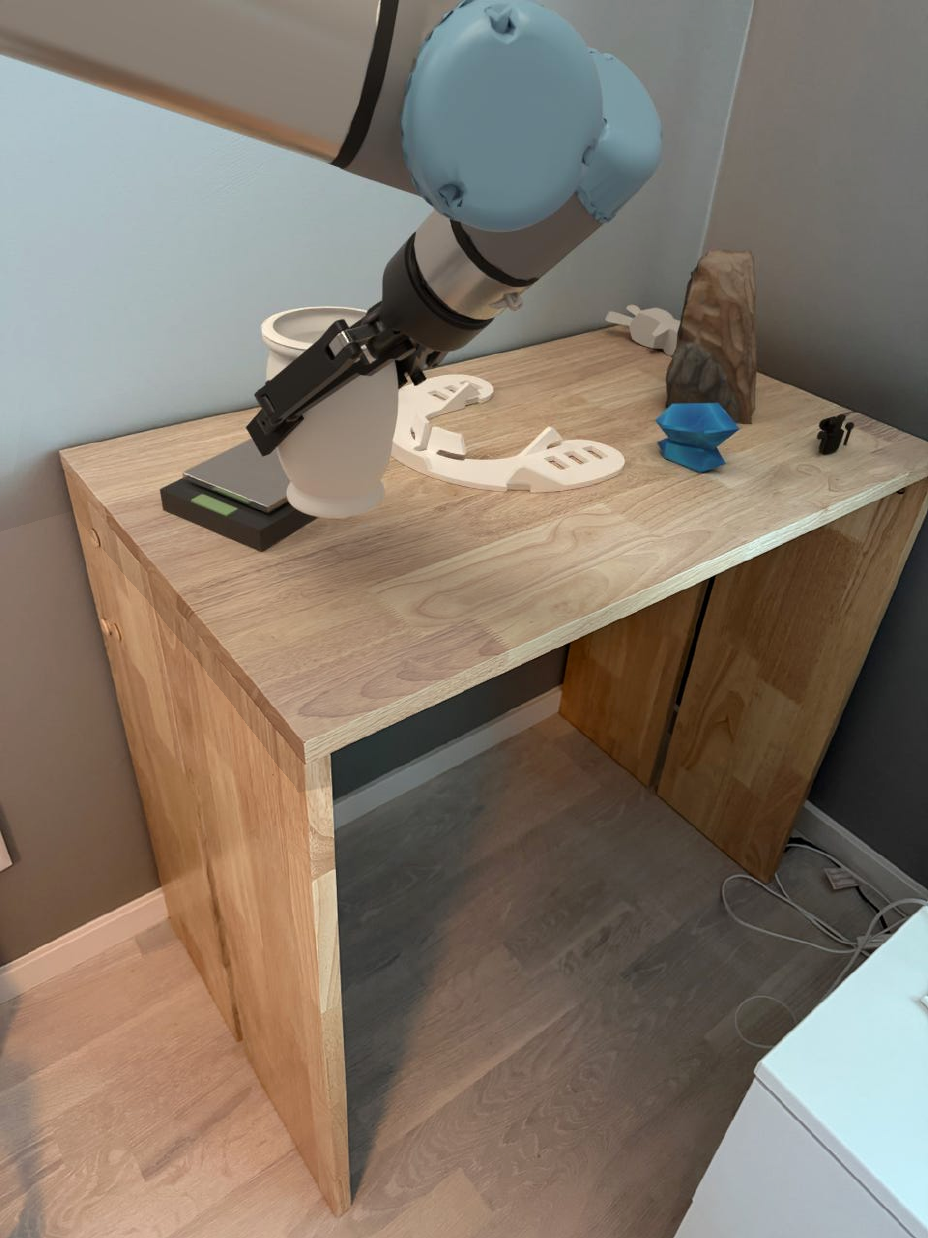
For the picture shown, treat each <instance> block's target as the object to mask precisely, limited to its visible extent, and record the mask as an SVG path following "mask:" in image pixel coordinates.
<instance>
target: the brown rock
mask: <svg viewBox="0 0 928 1238" xmlns="http://www.w3.org/2000/svg"><path fill="white" fill-rule="evenodd" d="M754 258H755V257H754V255H753V254H752V250H751V249H750V248H747V249H744V250H741V251H738V250H732V251H731V250H728V249H721V248H715V249H711V250H709V251H707V252H706V254H705V255H703V256H701V257H700V258H699V259H698V260H697V264H696V266H695V267H694V269H693V270H692V271H690V278H689V281H688V282H687V285H686V291H685V297H684V302H683V307H682V311H681V314H680V321H681V322H680V326H679V329H678V332H677V342H676V349H675V351H674V353H673V355H671V360H670V362H669V363H668V366H667V368H666V372H665V390H666V392H665V393H666V400H665V407H664V408H666V409H667V408H668V407H670V406H671V405H672V404H674V403H719V404H720V406H721V407H722V408H723V409H724V410H725V412H726V413H727V414H728V415H729V416H730V418H731V419H732V420H733V421H734V422H735V424H746V425H747V424H749V425H750V424H753V419H752V416H753V414H754V413H755V410H756V388H757V387H756V385H757V373H758V372H757V371H758V370H757V369H758V368H757V364H758V363H757V362H758V361H757V360H758V357H757V356H758V341H757V340H758V338H757V325H756V324H757V321H756V320H757V316H756V314H757V313H756V312H757V308H756V307H757V306H756V297H757V295H756V294H757V293H756V277H755V262H754Z"/></svg>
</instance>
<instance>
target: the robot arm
mask: <svg viewBox="0 0 928 1238" xmlns="http://www.w3.org/2000/svg"><path fill="white" fill-rule="evenodd" d="M0 56H4V57H5V58H9V59H12V60H15V61H18V62H21V63H25V64H26V65H30V66H33V67H35V68H39V69H42V70H44V71H48V72H51V73H54V74H57V75H60V76H63V77H66V78H69V79H72V80H75V81H78V82H80V83H85V84H87V85H90V86H93V87H97V88H99V89H102V90H105V91H108V92H112V93H115V94H118V95H121V96H122V97H123V96H124V97H127V98H130V99H132V100H134V101H135V100H136V101H137V102H142V103H145V104H147V105H151V106H154V107H157V108H160V109H162V110H165V111H169V112H172V113H175V114H177V115H181V116H184V117H187V118H189V119H193V120H196V121H199V122H202V123H205V124H207V125H211V126H214V127H217V128H220V129H223V130H227V131H229V132H232V133H235V134H239V135H241V136H244V137H247V138H249V139H250V138H251V139H253V140H255V141H259V142H261V143H265V144H269V145H271V146H274V147H277V148H281V149H283V150H286V151H290V152H293V153H295V154H299V155H302V156H305V157H308V158H311V159H313V160H316V161H319V162H323V163H325V164H327V165H328V164H329V165H331V166H333V167H336V168H339V169H340V170H343V171H345V172H347V173H350V174H352V175H355V176H358V177H361V178H364V179H367V180H370V181H373V182H376V183H380V184H381V185H385V186H388V187H390V188H394V189H397V190H400V191H403V192H406V193H408V194H412V195H415V196H418V197H420V198H422V199H423V200H424V201H425V202H426V203H427V204H429V205H430V206H431V207H432V209H431V211H430V212H429V213H428V214H427V215H426V217H425V218H424V219H423V220H422V221H421V222H420V224H419V226H417V228H416V230H415V231H414V232H413V233H412V234H411V235H410V236H409V237H408V238H407V239H406V240H405V242H404V243H403V244H402V245H401V247H400V248H398V250H397V251H396V252H395V254H393V256H392V257H391V258H390V259H389V260H388V262H387V264H386V265H385V267H384V269H383V273H382V279H381V280H382V281H381V300H380V301H378V302H377V303H375V304H374V305H372V306H371V307H369V308H368V309H367V310H366V311H367V313H366V315H365V316H364V317H363V318H362V319H360V320H359V321H357V322H356V323H355V324H353V325H352V326H350V327H349V326H348V324H347V323H346V321H345V319H340V320H337V321H335V322H334V323H333V324H332V325H331V326H330V327H329V328H328V329H327V330H326V332H325V333H324V334H323V335H322V336H321V338H320V339H319V340H318V341H316V342H315V343H314V344H313V345H312V346H310V347H309V348H308V349H307V350H306V351H305V352H303V353H302V354H301V355H300V356H299V357H297V358H296V359H295V360H294V361H293V362H291V363H290V364H289V365H288V366H287V367H286V368H284V369H283V370H282V371H281V372H280V373H278V374H277V375H276V376H275V377H274V378H272V379H271V380H270V381H269V380H268V381H266V380H265V383H264V385H262V387H260V388H259V389H257V391H256V392H254V394H253V397H254V398H255V400H256V401H257V403H258V405H259V406H260V408H261V409H260V410H259V411H258V413H257V414H256V415H255V416H254V417H253V418H252V419H251V420H250V422H249V423H248V424H247V425H246V426H245V429H246V431H247V433H248V434H249V436H250V437H251V438H250V439H253V441H254V443H255V445H256V446H257V448H258V450H259V452H260V453H261V455H262V457H263V456H266V455H269V454H270V453H271V452H272V451H273V450H274V449H275V448H276V447H277V446H278V445H279V444H280V443H281V442H282V441H283V440H284V439H285V438H286V437H287V436H288V435H289V434H290V433H291V432H292V431H293V430H294V429H295V428H296V427H297V426H298V425H299V424H300V423H301V422H302V421H303V420H304V417H303V415H302V414H304V413H305V412H307V411H308V410H310V409H311V408H313V407H314V406H316V405H317V404H318V403H320V402H321V401H323V400H324V399H326V398H327V397H329V396H330V395H332V394H333V393H335V392H336V391H338V390H339V389H341V388H342V387H344V386H345V385H347V384H348V383H349V382H351V381H352V380H354V379H355V378H357V377H358V376H360V375H362V376H372V375H374V374H375V373H377V372H378V371H380V370H381V369H383V368H384V367H386V366H387V365H389V364H390V363H392V362H393V361H395V365H396V371H397V379H398V390H399V389H400V388H402V387H404V386H406V384H407V383H409V380H408V377H409V379H410V381H411V383H413V384H414V386H417V385H419V384H421V383H423V382H424V381H425V380H426V379H428V378H427V377H426V375H425V373H424V371H423V370H424V367H425V366H426V367H427V368H428V370H431V369H436V368H437V367H438V366H439V365H440V364H441V363H442V362H443V360H444V359H445V358H446V357H447V355H448V354H449V353H450V352H455V351H458V350H461V349H463V348H464V347H466V346H467V345H468V344H469V343H470V342H471V341H472V340H473V339H475V338H476V337H477V336H478V335H479V334H480V333H481V332H482V331H484V330H485V329H486V328H487V327H489V325H490V324H491V323H492V322H493V321H494V320H495V318H496V317H498V316H499V315H501V314H502V313H503V312H504V311H505V310H506V309H507V308H509V310H510V311H513V312H514V311H517V310H519V309H521V308H522V306H523V304H524V302H523V298H522V297H521V295H522V294H523V293H524V292H525V291H527V290H528V289H530V288H531V287H532V286H533V285H534V284H535V283H536V282H538V281H540V279H542V278H543V277H544V276H545V275H546V274H548V272H550V271H551V270H552V269H553V268H555V267H556V266H557V265H558V264H559V263H560V262H561V261H563V260H564V259H565V258H566V257H567V256H568V255H569V254H570V253H572V252H573V251H574V250H575V249H577V248H578V247H579V246H580V245H581V244H582V243H583V242H585V241H586V240H587V239H588V238H589V237H590V236H592V235H593V234H594V233H595V232H596V231H597V230H599V229H600V228H601V227H602V226H603V225H605V224H609V223H610V222H611V221H612V220H613V219H614V218H615V217H616V216H617V213H619V212H620V211H621V210H622V208H624V207H625V206H626V204H627V203H628V202H629V201H630V200H631V199H633V197H635V196H636V195H637V194H638V193H639V192H640V191H641V189H642V188H643V187H644V185H645V184H646V183H647V182H648V181H649V180H650V179H651V178H652V177H653V176H654V174H655V173H656V172H657V170H658V168H659V166H660V163H661V160H662V156H663V151H664V147H663V137H664V133H663V132H664V131H663V127H662V123H661V119H660V116H659V113H658V111H657V110H658V109H657V108H656V106H655V104H654V102H653V100H652V98H651V96H650V94H649V92H648V90H647V89H646V88H645V86H644V85H643V83H642V82H641V81H640V79H639V78H638V77H637V76H636V75H635V74H634V73H633V71H632V70H631V69H630V68H629V67H628V66H627V65H626V64H625V63H623V62H622V61H621V60H620V59H619V58H617V57H616V56H614V55H613V54H612V53H611V54H610V53H608V52H607V53H606V52H605V53H601V52H600V51H599V50H598V49H596V48H594V47H588V45H587V44H586V42H585V40H584V39H583V38H582V35H580V33H579V32H578V31H577V29H575V27H574V26H572V24H571V23H570V22H569V21H568V20H566V19H565V18H564V17H562V15H560V14H558V13H557V12H555V11H553V10H552V9H550V8H549V7H546V6H544V5H543V4H541V3H539V2H538V1H536V0H0ZM363 345H365V346H366V348H367V349H368V351H369V353H370V355H371V356H372V357H373V358H374V359H376V360H375V361H373V362H372V363H369V361H368V359H367V357H366V355H365V354H364V352H363V350H362V348H361V346H363Z"/></svg>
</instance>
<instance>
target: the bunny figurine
mask: <svg viewBox="0 0 928 1238" xmlns="http://www.w3.org/2000/svg"><path fill="white" fill-rule="evenodd" d="M625 309H626V313H627V314H628V315H625V314H622V313H620V312H617V311H616V312H615V311H611V310H609V311H608V312H607V314H606V317H605V322H608V323H611V324H617V325H622V326H628V329H629V332H630V336H631V340H633V341H634V342H635V343H637V344H639V345H641V346H643V347H647V348H650V349H657V350H658V349H660V350H663V352H664V353H665V355H668V356H669V357H670V356H672V355H673V353H674V351H675V349H676V342H677V332H678V329H679V326H680V322H681V320H679V319H676V318H674V317H673V315H672V314H671V313H669V312H668V311H667V310H665V309H662V308H660V307H652V308H645V309H641V308H640V307H639V306H637V305H635V304H628V305H627V306H626V307H625ZM629 315H630V316H629ZM631 316H632V317H631Z"/></svg>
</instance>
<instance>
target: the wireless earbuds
mask: <svg viewBox="0 0 928 1238" xmlns="http://www.w3.org/2000/svg"><path fill="white" fill-rule="evenodd" d="M846 419H847V416H846V414H844V413H841V414H838V415H837V416H836V415H834V416H830V417H826V418H823V419H821V420H820V421H819V423H818V427H819V428H818V429H820V430H819V431H818V433H817V434H816V440H818V441H820V442H819V446H818V454H821V455H827V454H830V453H833V452H836V451H837V450H839V448H840V446H841V442H842V440H843V443H842V446H844V447H846V446H847V444H848V443H849V440H850V439H849V438H850V436H851V433H852V430H853V429H854V428H855V423H854V422H853V421H848V422H846V423H845V424H844V429H845V430H846V434H845V436H844V433H845V430H844V429H842V428H843V427H842V426H843V423H844V422H845V421H846ZM843 437H844V439H843Z"/></svg>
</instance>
